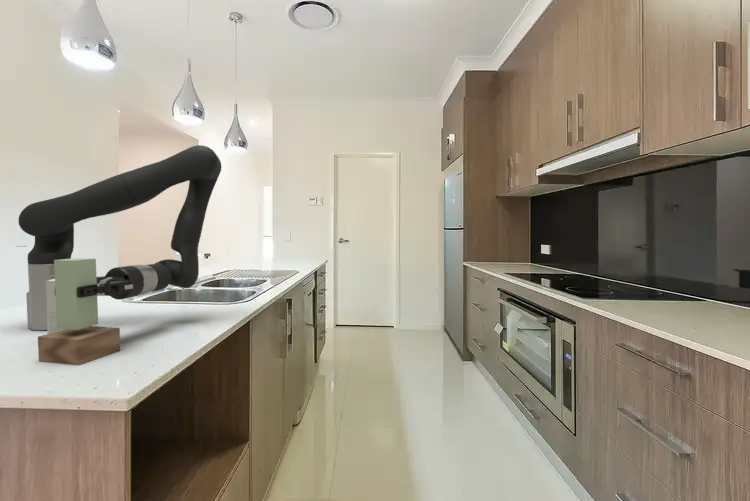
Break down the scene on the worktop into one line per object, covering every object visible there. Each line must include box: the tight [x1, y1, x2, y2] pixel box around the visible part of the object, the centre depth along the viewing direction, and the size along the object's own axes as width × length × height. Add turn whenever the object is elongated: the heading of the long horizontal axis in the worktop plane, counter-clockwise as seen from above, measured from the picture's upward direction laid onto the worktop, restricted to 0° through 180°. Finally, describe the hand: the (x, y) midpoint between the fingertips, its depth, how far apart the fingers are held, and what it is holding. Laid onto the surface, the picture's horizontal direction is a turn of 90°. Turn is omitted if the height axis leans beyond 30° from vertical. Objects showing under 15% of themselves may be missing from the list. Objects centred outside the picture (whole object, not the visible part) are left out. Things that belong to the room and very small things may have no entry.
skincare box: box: [46, 279, 66, 334], centre depth 104 cm, size 8×6×15 cm
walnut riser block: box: [37, 325, 121, 366], centre depth 90 cm, size 10×10×5 cm
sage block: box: [54, 257, 99, 330], centre depth 89 cm, size 5×5×14 cm
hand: (67, 292), depth 87 cm, fingers closed on sage block, 5 cm apart
